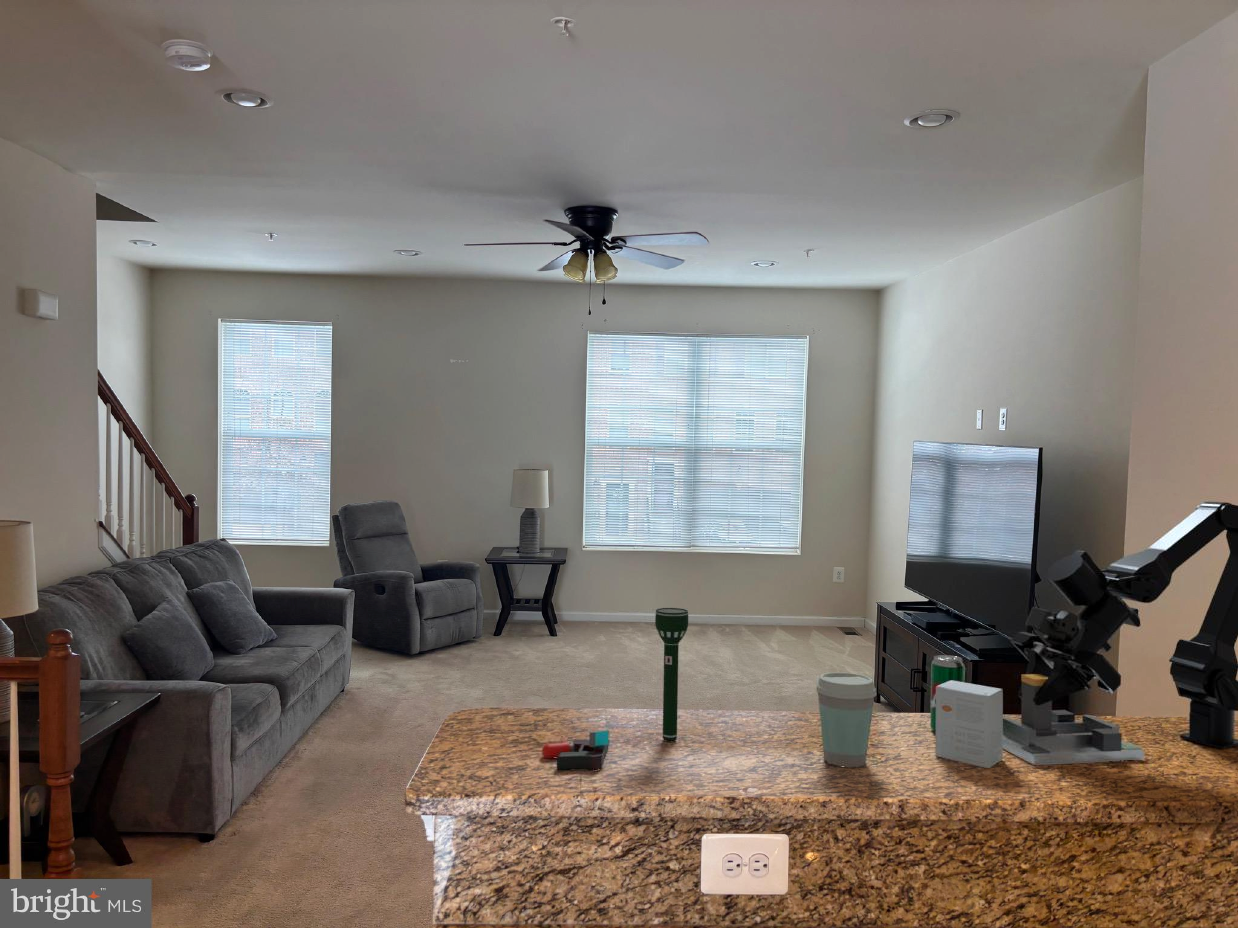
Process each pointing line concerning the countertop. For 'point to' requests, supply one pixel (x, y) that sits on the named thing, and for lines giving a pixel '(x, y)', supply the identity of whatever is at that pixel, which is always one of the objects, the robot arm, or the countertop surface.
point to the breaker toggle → (1030, 711)
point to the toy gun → (580, 752)
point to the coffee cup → (845, 717)
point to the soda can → (944, 678)
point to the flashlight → (671, 663)
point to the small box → (969, 723)
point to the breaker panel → (1069, 741)
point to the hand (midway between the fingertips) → (1027, 700)
